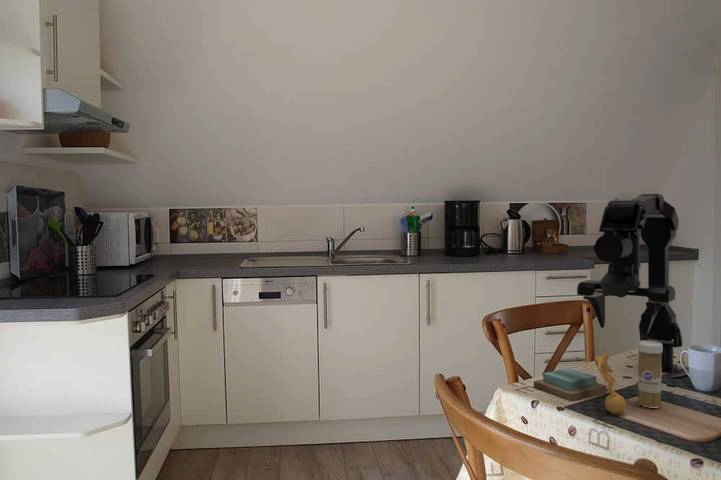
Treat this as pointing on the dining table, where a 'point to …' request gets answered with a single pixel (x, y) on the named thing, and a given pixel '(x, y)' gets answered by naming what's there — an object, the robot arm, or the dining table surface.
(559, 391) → the tower base
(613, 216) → the robot arm
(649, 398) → the sprinkles bottle
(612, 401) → the figurine
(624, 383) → the dining table surface
